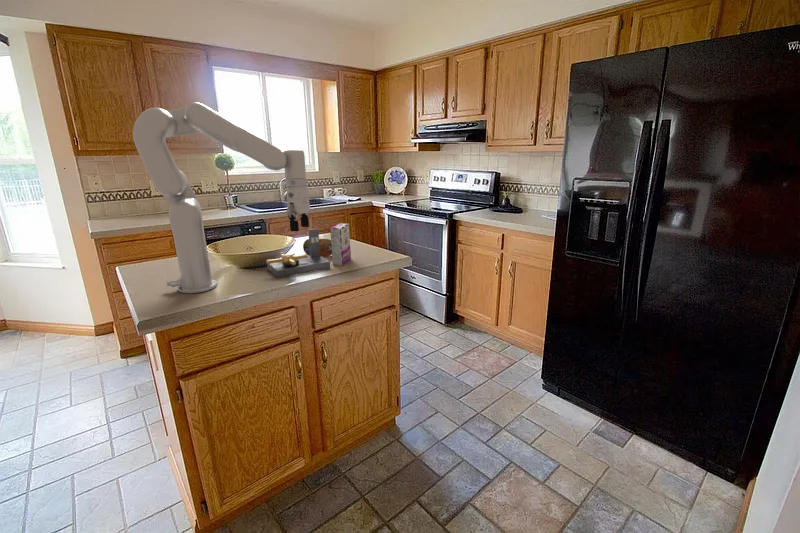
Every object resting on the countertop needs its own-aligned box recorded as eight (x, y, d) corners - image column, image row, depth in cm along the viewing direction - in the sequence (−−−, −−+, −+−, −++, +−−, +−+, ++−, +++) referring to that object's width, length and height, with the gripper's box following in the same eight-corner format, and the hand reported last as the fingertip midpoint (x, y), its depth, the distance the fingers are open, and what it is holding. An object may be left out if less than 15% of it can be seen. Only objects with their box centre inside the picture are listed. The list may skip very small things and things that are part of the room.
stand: (277, 277, 146) (273, 240, 142) (267, 269, 157) (263, 233, 153) (330, 268, 157) (328, 233, 153) (317, 260, 169) (315, 227, 164)
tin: (303, 255, 177) (302, 238, 175) (306, 254, 180) (305, 237, 178) (333, 257, 174) (332, 239, 172) (336, 255, 177) (335, 238, 175)
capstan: (272, 273, 141) (271, 263, 140) (261, 262, 154) (260, 253, 153) (315, 265, 150) (314, 256, 149) (301, 256, 163) (300, 247, 162)
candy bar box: (340, 258, 172) (339, 223, 167) (351, 259, 171) (349, 223, 166) (331, 265, 162) (329, 227, 157) (342, 266, 161) (340, 228, 156)
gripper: (294, 185, 133) (298, 233, 138) (315, 181, 149) (318, 225, 154) (275, 185, 134) (280, 233, 139) (297, 181, 150) (301, 224, 155)
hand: (300, 228), depth 147 cm, fingers open, 8 cm apart
